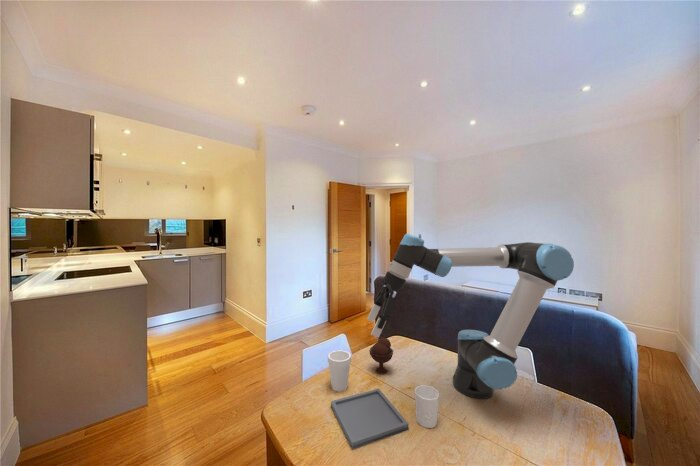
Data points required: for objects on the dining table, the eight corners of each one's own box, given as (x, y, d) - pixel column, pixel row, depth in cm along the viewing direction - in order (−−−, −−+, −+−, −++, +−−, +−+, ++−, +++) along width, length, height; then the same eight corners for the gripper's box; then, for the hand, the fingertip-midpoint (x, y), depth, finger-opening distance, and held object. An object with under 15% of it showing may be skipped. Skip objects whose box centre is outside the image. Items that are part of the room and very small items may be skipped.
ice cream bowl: (376, 362, 127) (376, 331, 127) (397, 369, 121) (397, 337, 120) (364, 372, 118) (365, 339, 118) (386, 380, 112) (386, 346, 112)
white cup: (440, 431, 84) (440, 401, 84) (415, 427, 86) (415, 397, 85) (437, 414, 92) (437, 386, 92) (414, 411, 93) (414, 383, 93)
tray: (378, 393, 103) (378, 388, 103) (408, 429, 85) (408, 423, 85) (330, 406, 95) (330, 401, 95) (352, 449, 77) (352, 442, 77)
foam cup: (323, 390, 105) (324, 358, 105) (333, 378, 113) (333, 348, 113) (345, 396, 101) (345, 363, 101) (354, 383, 110) (354, 352, 110)
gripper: (382, 264, 106) (360, 311, 107) (394, 278, 81) (366, 338, 82) (398, 272, 107) (376, 318, 107) (416, 287, 82) (387, 348, 82)
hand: (372, 327), depth 95 cm, fingers open, 13 cm apart
